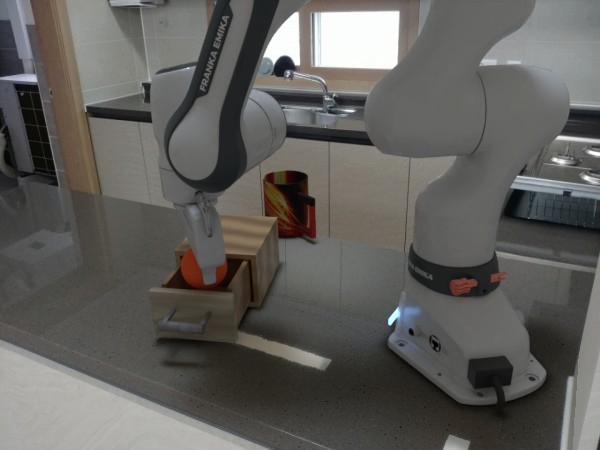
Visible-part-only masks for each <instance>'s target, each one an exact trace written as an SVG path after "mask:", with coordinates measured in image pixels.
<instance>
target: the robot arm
mask: <svg viewBox="0 0 600 450" xmlns="http://www.w3.org/2000/svg"><path fill="white" fill-rule="evenodd" d="M311 1H312V0H216V2H215V5H214V8H213V11H212V14H211V17H210V20H209V23H208V27H207V29H206V33H205V36H204V39H203V43H202V46H201V48H200V52H199V56H198V59H197V60H196V61H191V62H186V63H181V64H177V65H173V66H168V67H164V68H161V69H158V71H156V72H155V74H154V75H152V78H151V81H150V89H149V90H150V91H149V99H150V100H149V102H150V103H149V105H150V114H151V115H150V116H151V123H152V129H153V136H154V138H155V140H156V142H157V145H158V158H157V165H158V170H159V179H160V187H161V192H162V197H163V199H164V200H166V201H168V202H171V203H172V205H173V208H174V209H175V213H176V216H177V218H178V220H179V223H180V225H181V227H182V229H183V232H184V235H185V238H186V237H187V239H188V242H189V244H190V248H191V249H192V251H193V253H194V256H195V258H196V260H197V263H198V265H199V267H200V268H201V269H202V270H201V274H202V279H203V282H204V284H206V285H208V284H213V283H215V282H216V273H215V272H216V267H218V266H222V265H224V264H225V260H226V255H225V247H224V239H223V232H222V225H221V220H220V216H219V215H220V213H219V211H218V209H217V208H216V205H217V204H218V202H219V201H218V200H219V199H218V198H219V197H221V196H223V194H224V193H225V192H226V191H227V189H229V188H230V187H232V185H234V184H235V183H236V182H238V180H240V179H241V178H242V177H243V176H244V175H246V174H247V173H248V172H250V171H252V170H254V169H255V168H256V167H257V166H259V165H261V163H263V162H264V161H265V160H267V159H269V158H270V157H271V156H273V155H274V154H275V153H276V152H277V151H279V150H280V149H281V147H282V146H283V145H284V143H285V141H286V138H287V133H288V122H287V117H286V114H285V111H284V109H283V107H282V106H281V104H280V102H279V101H278V100H277V99H276V98H275V97H274V96H273V95H271V94H270V93H269V92H267V91H264V90H261V89H254V84H255V82H256V79H257V77H258V73H259V70H260V68H261V64H262V62H263V60H264V56H265V53H266V51H267V49H268V47H269V45H270V42H271V41H272V39H273V37H274V36H275V34H276V33H277V32H278V31H279V30H280V28H281V27H282V26H283V25H284V24H285V22H286V21H287V20H288V19H289V18H291V17H292V16H293V15H294V14H295V13H296V12H297V11H299V10H300V9H301V8H302V7H304V6H305V5H307V4H308V3H310V2H311ZM536 3H537V0H431V2H430V5H429V10H428V13H427V16H426V18H425V20H424V24H423V26H422V28H421V30H420V32H419V34H418V36H417V38H416V39H415V41H414V43H413V44H412V45H411V47H410V49H409V50H408V51H407V52H406V54H405V55H404V56H403V58H402V59H401V60H400V61H399V62H398V63H397V64H395V66H394V67H393V68H392V69H390V70H389V71H388V72H387V73H385V74H384V75H382V76H381V77H380V78H379V79H378V80H376V82H375V83H374V84H373V86H372V87H371V89H370V90H369V92H368V94H367V97H366V100H365V103H364V108H363V123H364V127H365V131H366V134H367V137H368V138H369V140H370V142H371V143H372V145H373V146H374V147H375V148H376V150H378V151H379V152H380V153H382V154H383V155H389V156H395V157H400V158H401V157H403V158H410V159H430V158H431V159H432V158H444V157H447V158H448V157H455V159H454V160H453V162H452V163H451V165H450V166H449V167H448V168H447V169H446V170H445V171H444V172H443V173H442V174H440V175H439V176H437V177H435V178H434V179H432V180H430V181H429V182H428V183H426V184H425V185H424V186H423V187H422V189H420V191H419V193H418V195H417V197H416V200H415V203H414V216H413V232H412V233H413V234H412V242H411V243H410V245H409V249H408V253H407V271H408V273H409V275H408V277H407V280H406V283H405V284H404V287H403V288H402V290H401V292H400V296H399V302H398V306H397V308H396V310H394V312H393V313H392V314H391V315H390V317H388V326H391V325H392V324H393V322H394V321H395V327H394V331H392V333H391V334H390V335H389V337H388V340H387V347H388V349H390V350H391V351H393V352H394V354H396V355H397V356H399V357H400V358H401V359H402V360H404V361H405V362H406V363H408V364H409V365H410V366H411V367H412V368H414V369H415V370H416V371H417V372H419V373H420V374H422V375H423V376H424V377H425V378H426V379H428V380H429V381H430V382H431V383H433V384H434V385H435V386H436V387H438V388H439V389H440V390H442V391H443V392H444V393H445V394H447V395H448V396H449V397H450V398H452V399H453V400H454V401H456V402H457V403H459V404H463V405H469V406H490V405H495V406H494V411H495V412H496V413H498V414H500V413H503V412H504V409H505V406H506V402H508V401H509V402H510V401H513V400H516V399H519V398H522V397H524V396H527V395H530V394H532V393H533V392H535V391H537V390H538V389H540V388H541V387H542V386H543V384H544V383H545V381H546V379H547V371H546V369H545V368H544V367H543V365H542V364H541V363H540V362H539V361H538V360H537V359H536V357H534V355H533V354H532V353H531V351H530V349H531V343H530V342H531V341H530V335H529V331H528V329H527V328H526V326H525V323H526V320H525V318H526V317H525V315H524V313H523V312H522V311H521V310H519V309H515V308H514V306H513V304H512V303H511V301H510V300H509V298H508V296H507V294H506V293H505V291H504V289H503V287H502V286H501V281H503V280H506V279H507V278H506V277H504V276H505V275H507V271H501V272H500V266H499V260H498V255H497V252H496V250H495V249H496V242H497V235H498V230H499V224H500V223H499V222H500V219H501V214H502V209H503V207H504V203H505V200H506V197H507V195H508V193H509V191H510V190H511V187H512V185H513V184H514V183H515V180H516V179H517V177H518V176H519V175H520V173H521V171H522V170H523V169H524V168H525V166H526V165H527V164H528V163H529V162H530V160H531V159H532V158H533V157H534V156H536V155H537V154H538V153H539V152H540V151H541V150H543V148H545V147H546V146H548V145H549V144H550V143H551V144H552V142H553V141H555V140H556V139H557V138H558V137H559V136H560V134H561V133H562V132H563V130H564V128H565V126H566V125H567V122H568V119H569V117H570V116H569V115H570V112H571V111H570V109H571V99H570V98H571V96H570V92H569V89H568V87H567V85H566V82H565V80H564V79H563V78H562V77H561V75H560V74H559V73H558V72H556V71H555V70H553V69H549V68H545V67H540V66H533V65H529V64H528V65H527V64H520V63H509V64H506V63H505V64H491V65H488V64H487V65H481V63H482V61H483V60H484V58H485V57H486V55H487V54H488V53H489V52H490V51H491V50H492V49H493V47H494V46H495V45H496V44H497V43H499V42H500V41H502V40H504V39H505V38H507V37H508V36H510V35H512V34H515V32H517V31H518V30H520V29H521V28H523V26H524V25H525V24H526V23H527V22H528V21H529V19H530V17H531V16H532V14H533V12H534V10H535V7H536Z"/></svg>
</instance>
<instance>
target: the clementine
mask: <svg viewBox="0 0 600 450" xmlns="http://www.w3.org/2000/svg"><path fill="white" fill-rule="evenodd" d="M201 270H202V269H201V268H200V267H199V265H198V263H197V260H196V258H195V256H194V253H193V251H192V249H191V248H190V249H189V250H187V252H186V253H185V254H184V256H183V258H182V261H181V272H182V276H183V277H184V279H185V280H186V282H187V283H188V284H190V285H191V286H192V287H194V288H197V289H202V290H205V289H211V288H213V287H215V286H217V285H218V284H220V283H221V281H222V280H223V279H224V277H225V275H226V272H227V261H226V260H225V264H224V265H222V266H218V267H216V272H215V273H216V282H215V283H213V284H208V285H206V284H204V282H203V279H202V274H201Z"/></svg>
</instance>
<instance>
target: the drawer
mask: <svg viewBox="0 0 600 450" xmlns="http://www.w3.org/2000/svg"><path fill="white" fill-rule="evenodd" d="M181 261H182V260H181ZM181 261H180V262H179V263H178V264H177V266H176V265H175V267H174V268H173V269H172V270H171V271H170V272H169V274H168V275H167V276H166V277H165V278H164V280H163V281H162V282H161V287H160V286H159V287H157V286H151V287H150V289H149V290H148V296H149V302H150V308H151V314H152V321H153V326H154V333H155V337H162V338H171V339H172V338H174V339H183V340H195V341H206V342H219V343H228V344H229V343H231V344H237V342H238V340H239V331H238V328H239V326H240V323H241V321H242V319H243V317H244V315H245V314H246V311H247V309H248V308H249V307H248V305H249V303H250V301H251V299H252V297H253V282H252V268H251V260H247V259H230V258H226V261H227V272H226V275H225V277H224V279H223V280H222V281H221V283H220V284H218V285H217V286H215V287H213V288H211V289H205V290H202V289H197V288H194V287H192V286H191V285H190V284H188V283H187V282H186V280H185V279H184V277H183V276H182V272H181Z"/></svg>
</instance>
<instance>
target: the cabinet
mask: <svg viewBox="0 0 600 450" xmlns="http://www.w3.org/2000/svg"><path fill="white" fill-rule="evenodd" d="M219 216H220V220H221V225H222V232H223V239H224V247H225V255H226V258H230V259H247V260H251V268H252V282H253V297H252V299H251V301H250V303H249V305H248V307H247V308H259V309H260V307H261V305H262V304H263V301H264V299H265V297H266V295H267V293H268V290H269V288H270V286H271V283H272V281H273V279H274V277H275V275H276V274H277V271H278V268H279V266H280V264H281V263H280V262H281V261H280V243H279V242H280V241H279V238H278V222H277V221H278V220H277V217H265V216H264V215H263V216H262V215H261V216H259V215H238V214H219ZM189 249H190V244H189V242H188V239H187V237H186V236H185V238H184V239H183V240H182V241H181V242H180V243H179V244H178V246H176V248H175V249H174V250H173V252H174V258H175V267H176V266H177V264H178V263H179V262H180V261H181V260H182V258H183V256H184V254H185V253H186V252H187V250H189Z"/></svg>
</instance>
